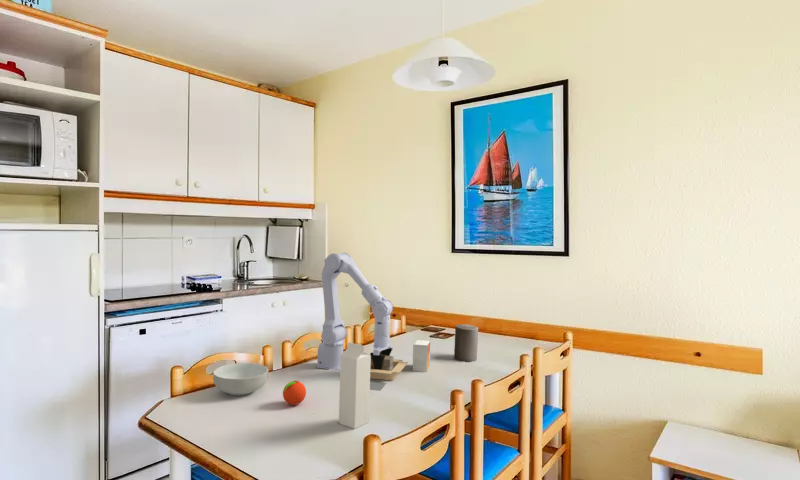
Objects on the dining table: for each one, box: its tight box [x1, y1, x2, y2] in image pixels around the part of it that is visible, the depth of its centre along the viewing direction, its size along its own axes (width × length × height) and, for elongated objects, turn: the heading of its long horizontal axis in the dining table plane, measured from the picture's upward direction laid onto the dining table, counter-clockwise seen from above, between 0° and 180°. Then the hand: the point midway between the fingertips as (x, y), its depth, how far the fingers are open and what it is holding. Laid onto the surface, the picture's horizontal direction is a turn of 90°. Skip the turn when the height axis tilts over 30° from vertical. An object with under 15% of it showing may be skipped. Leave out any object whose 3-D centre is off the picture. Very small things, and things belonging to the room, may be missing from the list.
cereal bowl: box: [212, 362, 269, 397], centre depth 152 cm, size 17×17×7 cm
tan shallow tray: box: [370, 359, 408, 381], centre depth 174 cm, size 17×18×4 cm
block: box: [370, 355, 395, 371], centre depth 174 cm, size 8×5×6 cm, turn 76°
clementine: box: [282, 380, 307, 406], centre depth 142 cm, size 8×7×7 cm
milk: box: [338, 342, 371, 430], centre depth 130 cm, size 6×6×22 cm
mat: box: [370, 380, 387, 392], centre depth 161 cm, size 12×8×1 cm, turn 76°
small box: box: [412, 339, 431, 373], centre depth 182 cm, size 8×6×10 cm
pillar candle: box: [453, 323, 479, 363], centre depth 199 cm, size 10×10×15 cm
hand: (381, 369), depth 174 cm, fingers open, 7 cm apart
